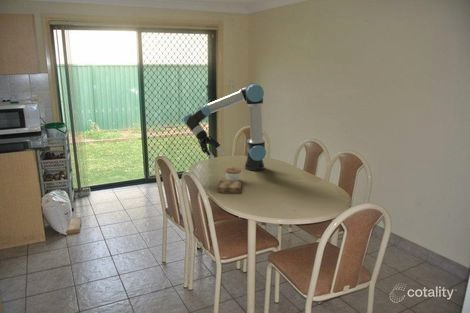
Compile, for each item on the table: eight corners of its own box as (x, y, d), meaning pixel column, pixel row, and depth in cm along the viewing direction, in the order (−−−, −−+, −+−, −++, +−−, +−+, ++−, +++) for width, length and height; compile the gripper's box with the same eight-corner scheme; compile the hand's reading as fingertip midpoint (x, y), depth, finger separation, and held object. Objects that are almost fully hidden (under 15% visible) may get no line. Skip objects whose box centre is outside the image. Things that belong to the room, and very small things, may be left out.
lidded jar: (243, 179, 246) (243, 166, 244) (238, 184, 236) (238, 170, 234) (228, 177, 250) (228, 165, 247) (223, 182, 240) (223, 169, 237)
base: (241, 185, 233) (241, 181, 232) (240, 192, 219) (240, 188, 219) (220, 185, 234) (220, 180, 233) (217, 192, 220) (217, 187, 220)
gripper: (206, 133, 260) (223, 156, 257) (186, 139, 239) (205, 163, 235) (212, 127, 256) (230, 149, 253) (192, 132, 235) (212, 157, 232)
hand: (218, 156), depth 244 cm, fingers open, 13 cm apart
